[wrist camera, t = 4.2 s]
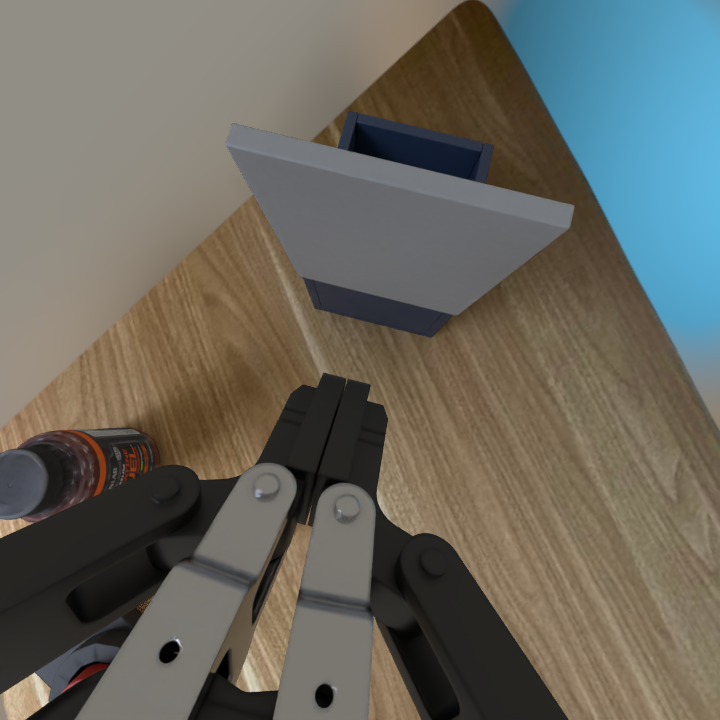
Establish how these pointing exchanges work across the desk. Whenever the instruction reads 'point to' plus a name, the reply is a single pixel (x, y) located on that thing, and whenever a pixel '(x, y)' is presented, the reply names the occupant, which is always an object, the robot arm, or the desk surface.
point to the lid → (391, 221)
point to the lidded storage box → (418, 152)
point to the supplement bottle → (70, 469)
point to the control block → (88, 653)
